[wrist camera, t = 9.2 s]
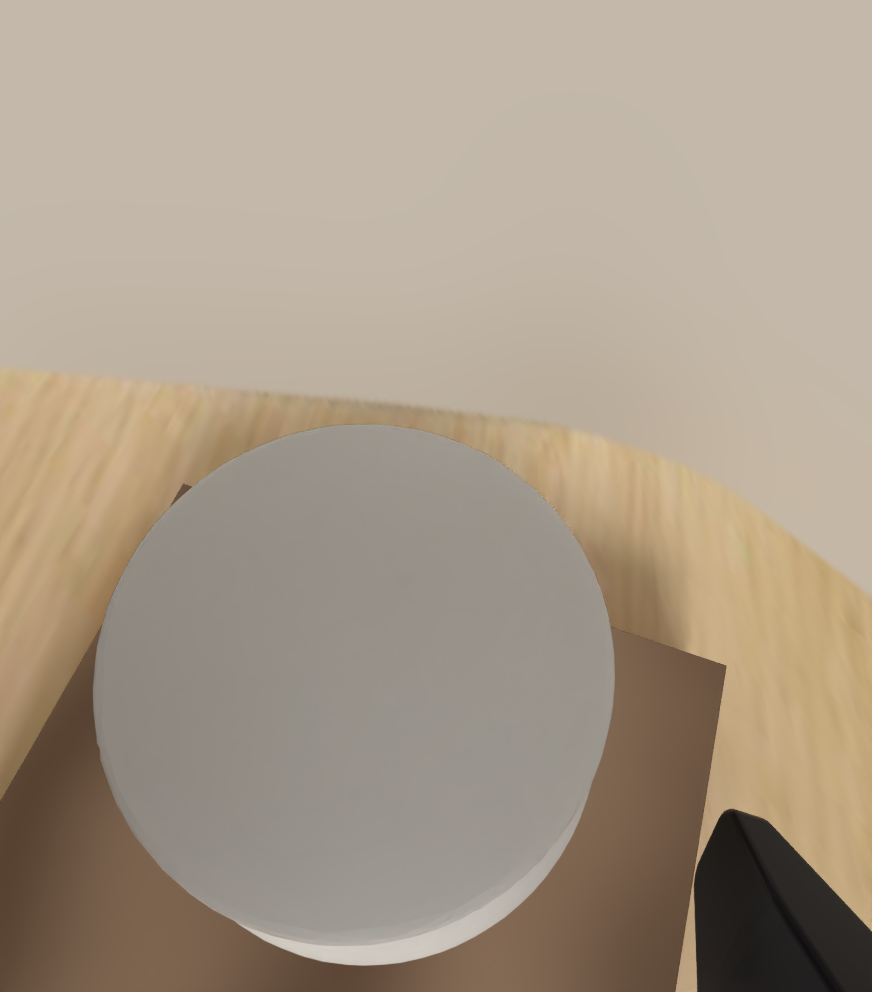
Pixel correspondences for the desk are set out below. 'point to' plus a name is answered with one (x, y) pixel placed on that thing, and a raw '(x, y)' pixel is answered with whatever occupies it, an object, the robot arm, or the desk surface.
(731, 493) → the desk surface
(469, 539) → the pill bottle
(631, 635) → the block
